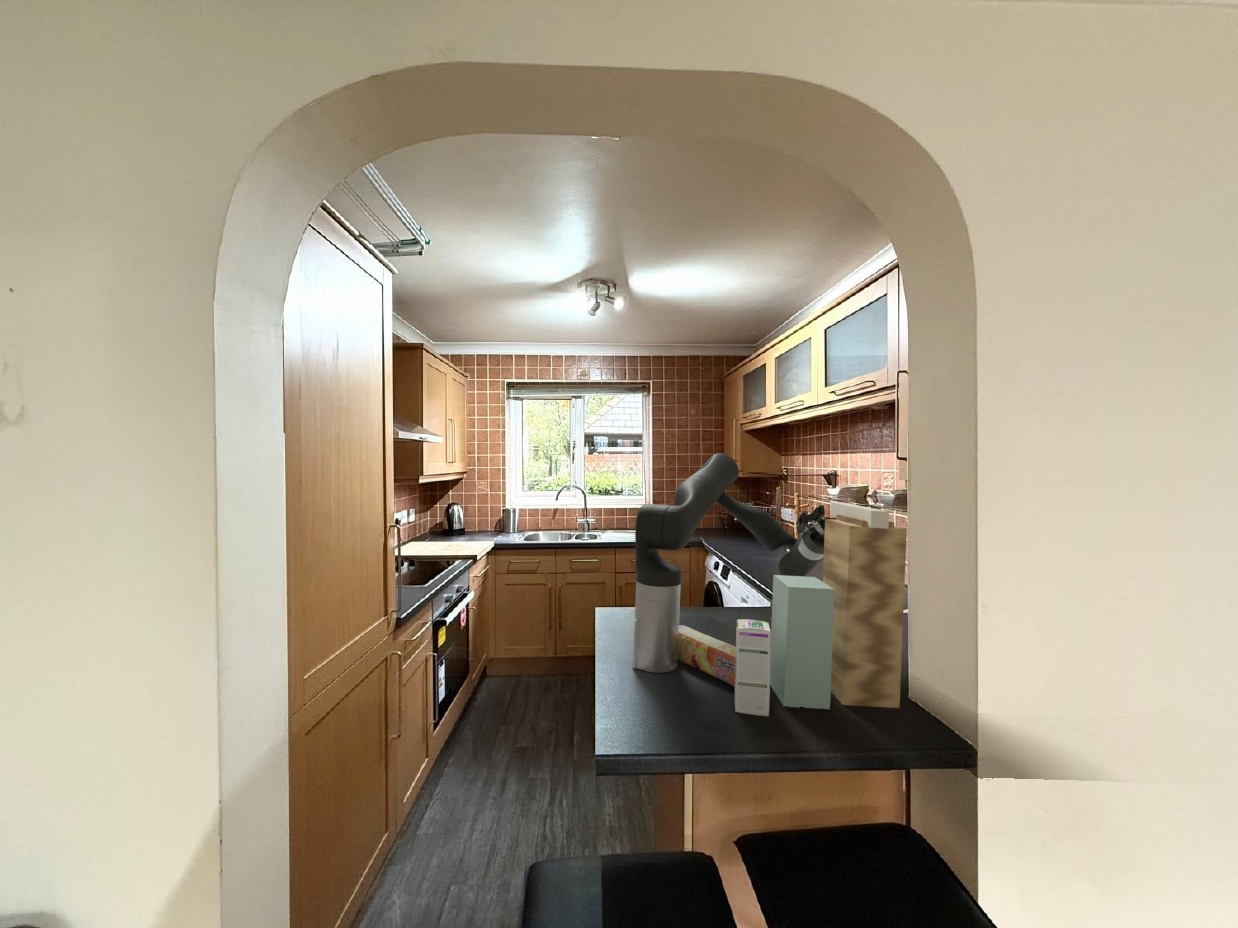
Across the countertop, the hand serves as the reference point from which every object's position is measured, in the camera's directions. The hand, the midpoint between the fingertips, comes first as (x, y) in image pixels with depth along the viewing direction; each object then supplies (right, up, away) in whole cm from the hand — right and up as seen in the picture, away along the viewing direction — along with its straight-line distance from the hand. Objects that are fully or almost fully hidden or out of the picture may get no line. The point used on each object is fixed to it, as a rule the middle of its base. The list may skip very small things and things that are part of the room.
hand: (843, 509), depth 107 cm
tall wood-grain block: (-2, -34, -10) cm, 35 cm away
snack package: (-28, -33, -2) cm, 43 cm away
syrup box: (-24, -33, -18) cm, 45 cm away
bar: (0, -2, -6) cm, 6 cm away
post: (-14, -33, -12) cm, 38 cm away
